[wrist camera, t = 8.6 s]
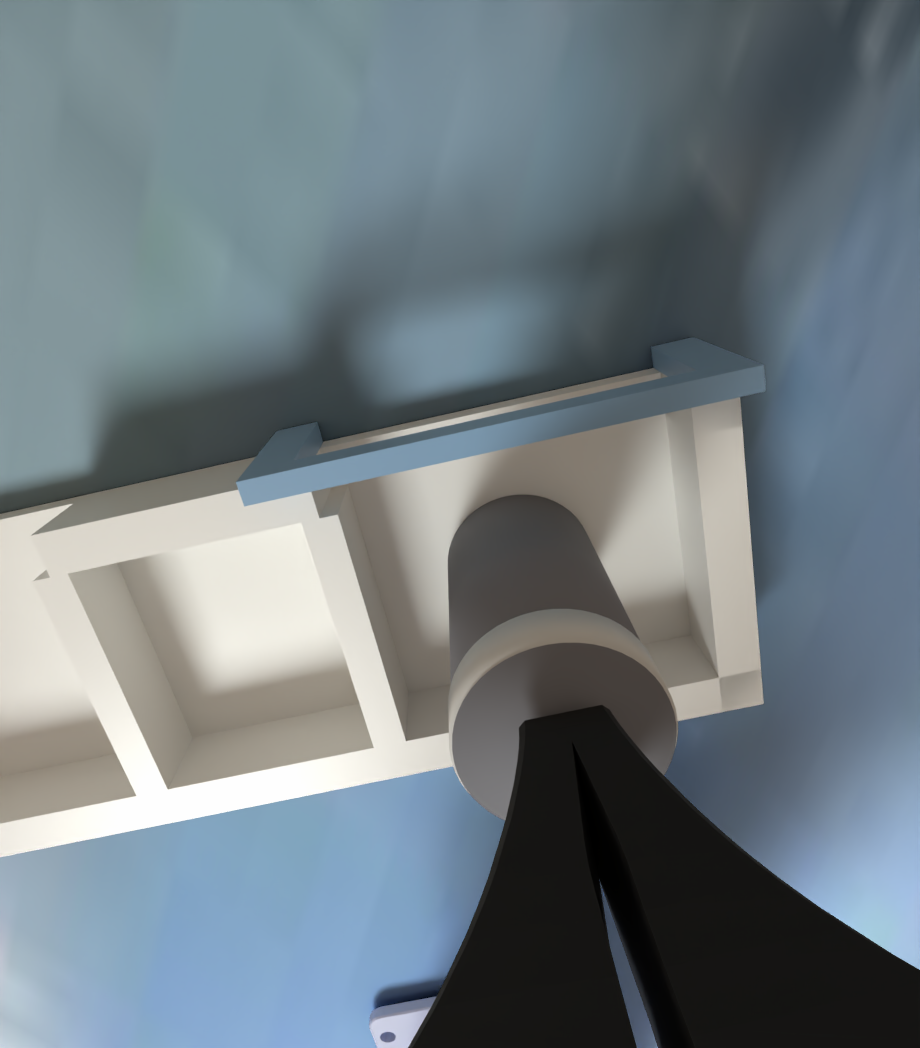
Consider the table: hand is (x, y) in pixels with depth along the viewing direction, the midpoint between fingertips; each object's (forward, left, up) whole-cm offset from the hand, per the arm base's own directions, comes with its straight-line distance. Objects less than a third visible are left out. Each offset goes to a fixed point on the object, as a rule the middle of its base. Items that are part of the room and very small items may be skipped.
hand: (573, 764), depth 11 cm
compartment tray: (0, +7, -8) cm, 11 cm away
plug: (0, 0, -7) cm, 7 cm away
